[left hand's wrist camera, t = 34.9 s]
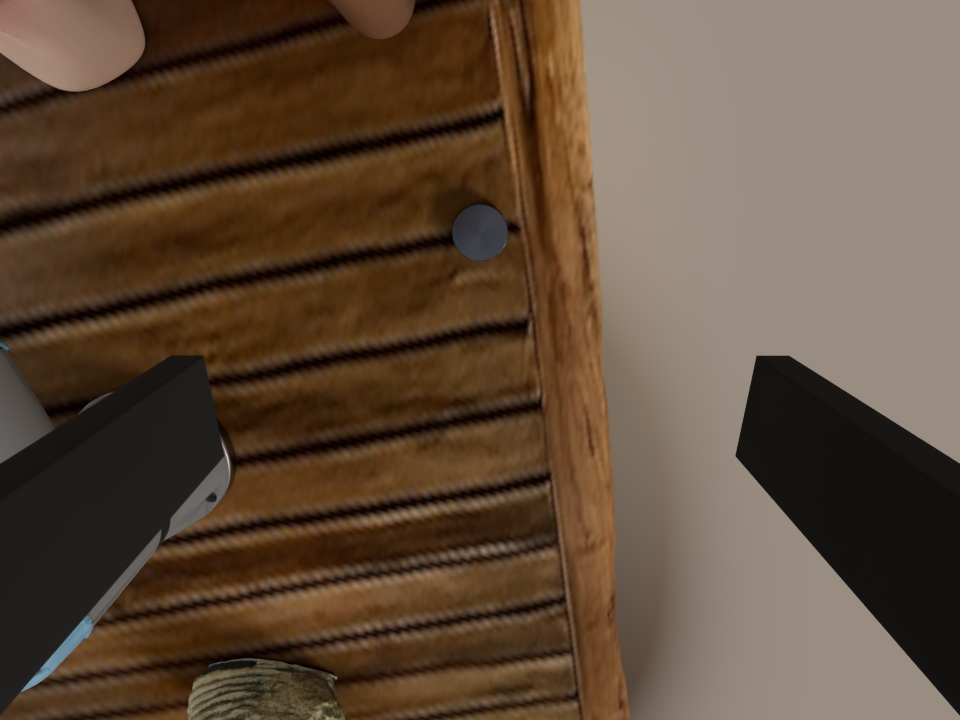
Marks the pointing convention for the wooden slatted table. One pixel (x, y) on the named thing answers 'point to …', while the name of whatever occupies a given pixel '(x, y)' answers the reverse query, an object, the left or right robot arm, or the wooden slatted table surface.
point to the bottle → (375, 15)
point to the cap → (480, 232)
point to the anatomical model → (71, 40)
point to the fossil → (263, 692)
